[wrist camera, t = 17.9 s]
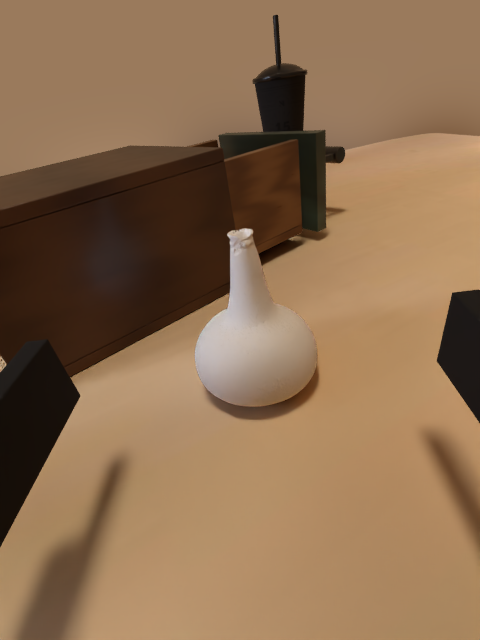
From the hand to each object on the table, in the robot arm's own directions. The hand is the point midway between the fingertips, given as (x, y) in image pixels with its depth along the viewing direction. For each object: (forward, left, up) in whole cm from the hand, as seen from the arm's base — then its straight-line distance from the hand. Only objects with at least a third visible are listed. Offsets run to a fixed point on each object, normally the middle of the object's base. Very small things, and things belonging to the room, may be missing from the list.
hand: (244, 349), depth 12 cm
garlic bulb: (-4, +3, -6) cm, 8 cm away
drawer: (-20, +16, -5) cm, 26 cm away
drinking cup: (-35, +37, -6) cm, 51 cm away
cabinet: (-20, +1, -6) cm, 21 cm away
